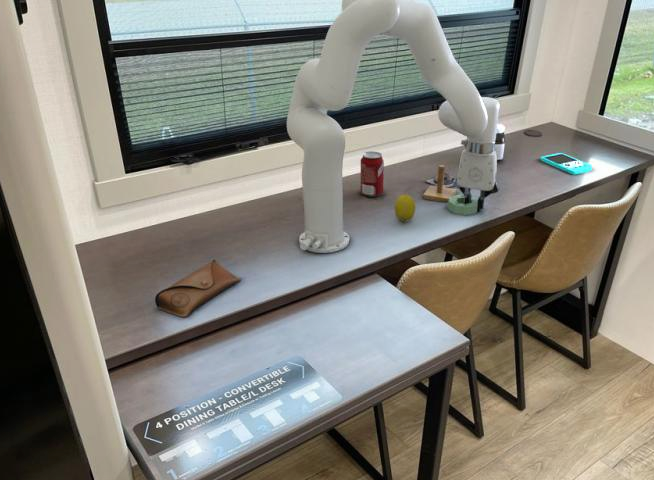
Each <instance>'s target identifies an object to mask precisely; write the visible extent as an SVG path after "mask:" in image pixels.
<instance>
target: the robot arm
mask: <svg viewBox="0 0 654 480" xmlns="http://www.w3.org/2000/svg"><path fill="white" fill-rule="evenodd" d="M380 35H385V36H387V37H388V36H389V37H392V38H397V39H400V40H403V41H404V42H405V43H406V45H407V47H408V49H409V52H410V53H411V55H412V58H413V59H414V61H415V64H416V66H417V68H418V70H419V72H420V73H419V74H420V75H421V77H422V78H423V80H424V81H425V82H426V83H427V84H428V86H430V87H431V88H433V89H434V90H435V91H436V92H437V93H439V94H440V95H441V96H442V97H443V98H444V99H445V101H444V102H442V103H441V104H440V106H439V108H438V111H437V112H438V113H437V114H438V116H437V117H438V119H439V121H440V123H441V124H442V125H443V126H444V127H446V128H448V129H450V130H451V131H454V132H457V133H458V134H461V135H463V136H464V137H466V138H465V139H461V142H460V145H462V146H464V147H465V148H464V149H462V153H461V155H460V159H459V164H458V169H457V177H456V179H454V180H455V182H454V183H453V187H455V188H456V189H459V191H460V192H461V193H462V195H464V197H465V203H464V204H469V203H471V197H472V196H473V195H472V193H471V190H478V191H480V193H479V197H478V198H477V199H478V203H477V205H478V206H477V213H478V214H479V213H480V212H481V210H484V204H485V199H486V198H488V197H489V196H490V195H492V194H496V193H498V192H499V191H500V188H499V185H498V181H497V171H498V163H497V155H496V151H494V148H495V140H496V132H497V124H499V114H500V102H499V100H498V99H496V98H493V97H488V96H481V94H480V92H479V91H478V88H477V87H476V85H475V84H474V82H473V81H472V80H471V79H470V77H469V76H468V74H467V73H466V72H465V70H464V69H463V68H462V67H461V65H460V64H459V63H458V62H457V60H456V58H455V57H454V54H453V52H452V49H451V47H450V45H449V42H448V40H447V38H446V35H445V33H444V31H443V28H442V26H441V23H440V20H439V18H438V16H437V14H436V12H435V10H434V9H433V8H432V7H431V6H430V5H428V4H427V3H423V2H419V1H415V0H341V12H340V13H339V14H338V15H337V16H336V17H335V19H334V20H333V21H332V23H331V25H330V27H329V28H328V31H327V33H326V36H325V39H324V42H323V46H322V50H321V53H320V57H319V58H316V57H315V58H312V59H309V60H307V61H306V62H305V63H304V64H303V65H302V66H301V68H300V69H299V71H298V73H297V75H296V77H295V82H294V85H293V88H292V94H291V98H290V102H289V107H288V112H287V118H286V130H287V131H286V132H287V134H288V136H289V138H290V139H291V141H292V142H294V144H296V145H297V146H298V147H299V148H300V149H302V150H303V161H302V164H301V184H302V185H301V186H302V203H303V221H304V222H303V223H304V232H302V233H300V235H299V238H298V242H299V248H300V249H301V250H302V251H308V252H311V253H317V254H329V253H335V252H339V251H341V250H344V249H345V248H346V247H348V246H349V244H350V235H349V234H348V233H347V231H344V195H343V191H344V189H343V187H344V186H343V163H344V156H345V150H346V149H345V148H346V135H345V132H344V130H343V128H342V127H341V125H340V123H339V122H337V121H336V119H334V118H332V117H331V116H329V115H328V111H331V112H339V111H341V110H343V109H344V108H346V107H347V106H348V104H349V103H350V100H351V98H352V96H353V95H352V94H353V92H354V87H355V83H356V78H357V75H358V72H359V67H360V64H361V61H362V58H363V55H364V52H365V50H366V48H367V46H368V45H369V44H370V42H371V41H372V40H373V39H375V38H376V37H377V36H380ZM477 213H476V214H477Z"/></svg>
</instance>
